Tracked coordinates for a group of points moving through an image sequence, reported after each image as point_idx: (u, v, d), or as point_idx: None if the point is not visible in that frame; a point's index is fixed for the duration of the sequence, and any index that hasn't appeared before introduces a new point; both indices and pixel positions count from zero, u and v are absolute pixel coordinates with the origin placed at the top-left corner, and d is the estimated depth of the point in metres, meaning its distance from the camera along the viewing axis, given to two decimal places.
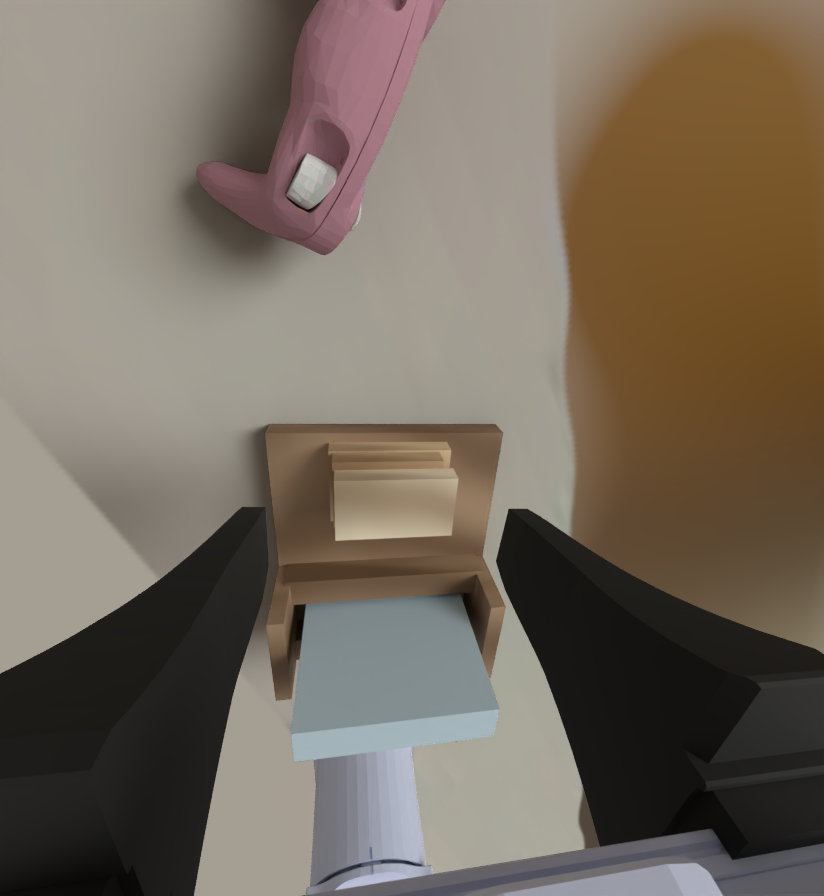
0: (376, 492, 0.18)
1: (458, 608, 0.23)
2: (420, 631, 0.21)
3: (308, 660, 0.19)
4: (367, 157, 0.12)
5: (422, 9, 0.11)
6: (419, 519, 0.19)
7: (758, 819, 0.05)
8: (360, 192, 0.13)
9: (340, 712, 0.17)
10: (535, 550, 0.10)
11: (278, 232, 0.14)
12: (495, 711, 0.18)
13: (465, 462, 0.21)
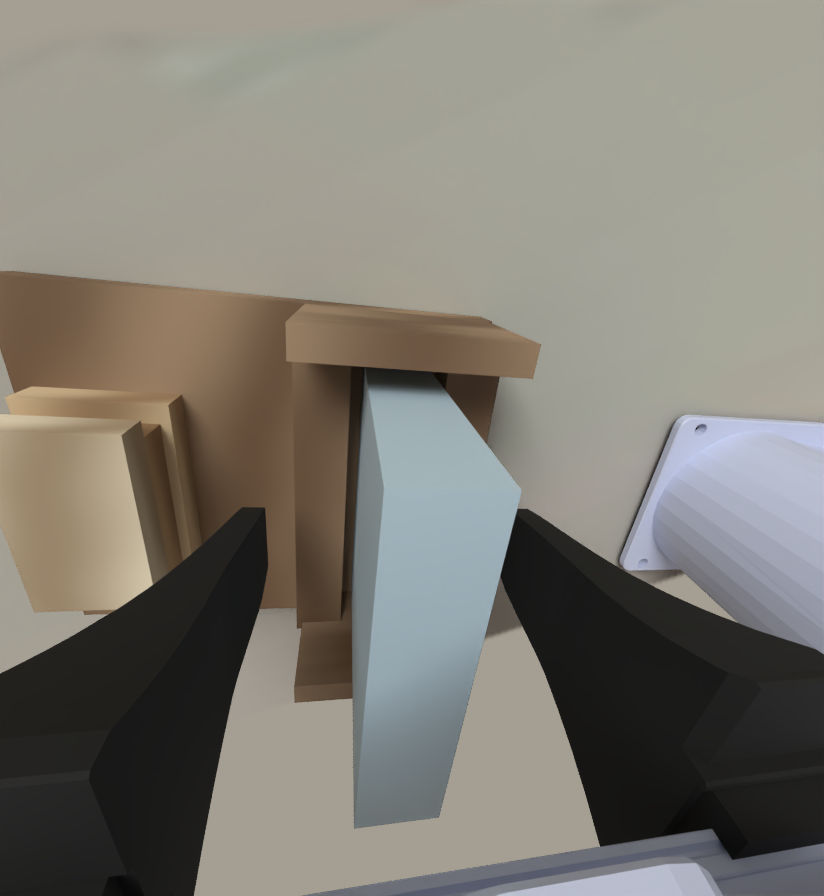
0: (41, 559, 0.11)
1: (364, 392, 0.11)
2: (362, 494, 0.11)
3: (352, 679, 0.12)
4: None
5: None
6: (89, 494, 0.10)
7: (758, 819, 0.05)
8: None
9: (357, 745, 0.09)
10: (535, 550, 0.10)
11: None
12: (392, 499, 0.05)
13: (69, 348, 0.11)
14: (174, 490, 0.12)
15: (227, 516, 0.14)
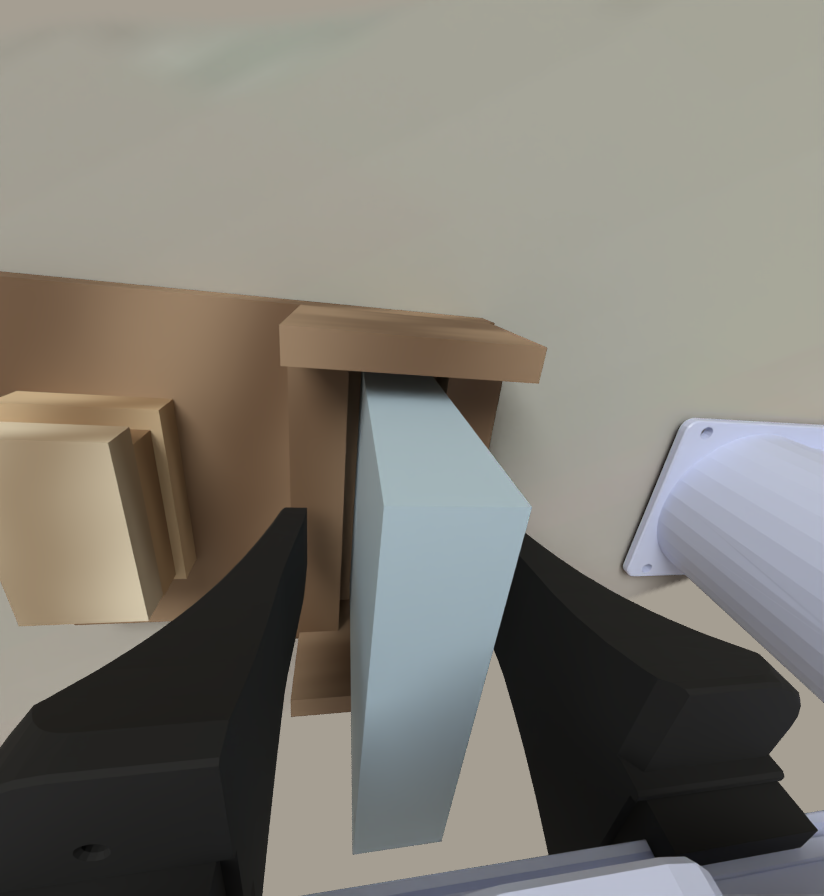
0: (25, 572, 0.10)
1: (363, 397, 0.10)
2: (360, 503, 0.10)
3: (351, 694, 0.11)
4: None
5: None
6: (75, 504, 0.10)
7: (690, 830, 0.05)
8: None
9: (356, 768, 0.08)
10: None
11: None
12: (393, 517, 0.05)
13: (55, 352, 0.11)
14: (166, 498, 0.12)
15: (222, 524, 0.14)
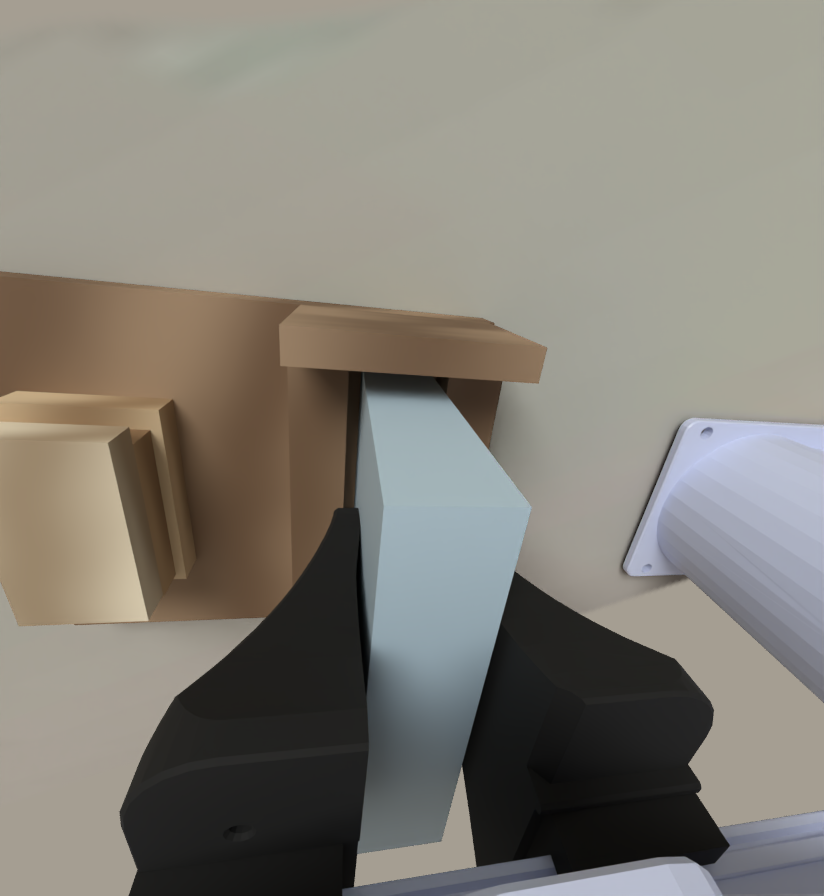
0: (25, 572, 0.10)
1: (363, 397, 0.10)
2: (360, 503, 0.10)
3: None
4: None
5: None
6: (74, 504, 0.10)
7: (593, 846, 0.05)
8: None
9: None
10: None
11: None
12: (393, 517, 0.05)
13: (55, 352, 0.11)
14: (165, 498, 0.12)
15: (221, 524, 0.14)
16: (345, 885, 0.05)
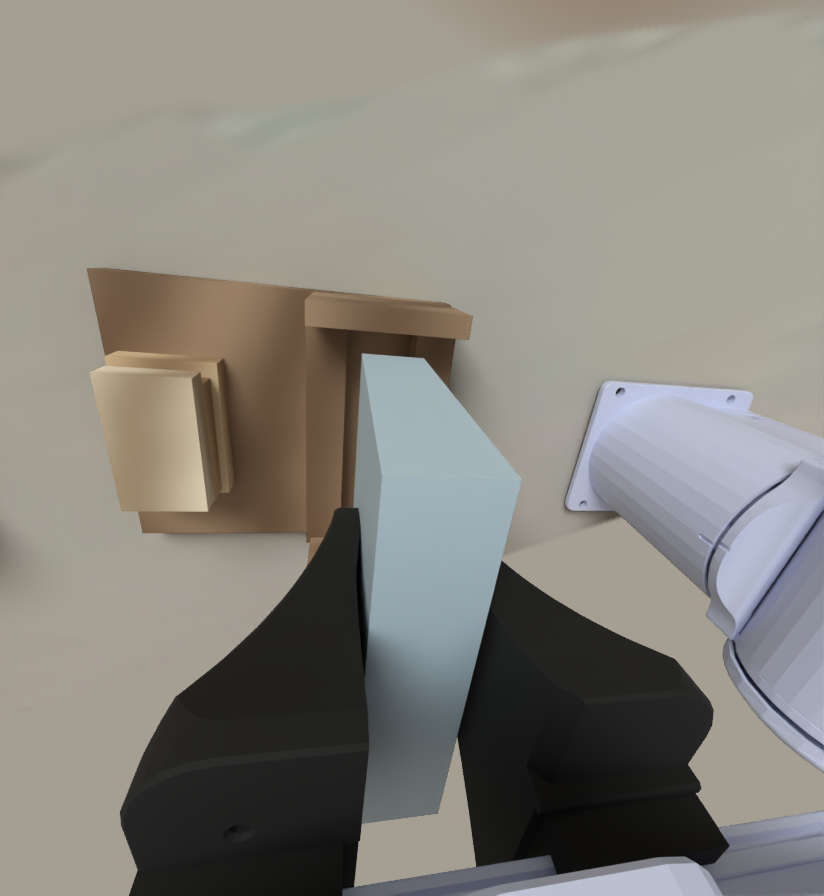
0: (130, 470, 0.15)
1: (363, 385, 0.11)
2: (360, 488, 0.10)
3: None
4: None
5: None
6: (166, 421, 0.15)
7: (593, 846, 0.05)
8: None
9: None
10: None
11: None
12: (391, 488, 0.05)
13: (146, 323, 0.16)
14: (218, 428, 0.17)
15: (254, 454, 0.19)
16: (345, 885, 0.05)
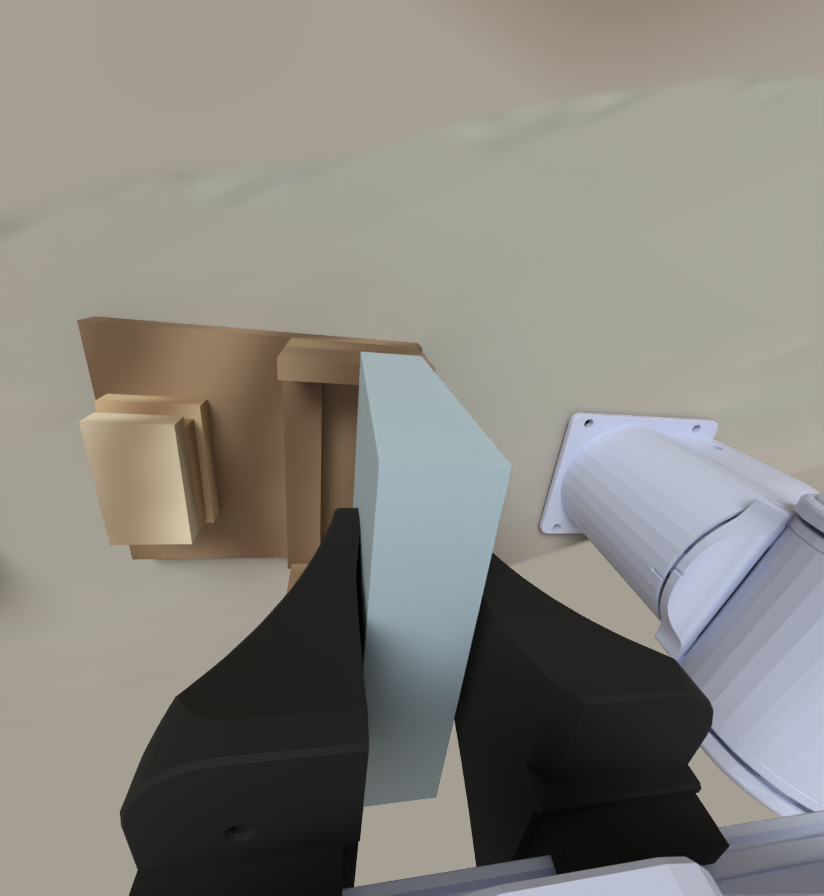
0: (118, 507, 0.16)
1: (361, 382, 0.11)
2: (359, 482, 0.11)
3: None
4: None
5: None
6: (151, 463, 0.16)
7: (593, 846, 0.05)
8: None
9: None
10: None
11: None
12: (387, 473, 0.06)
13: (133, 368, 0.17)
14: (202, 465, 0.18)
15: (237, 486, 0.20)
16: (345, 885, 0.05)
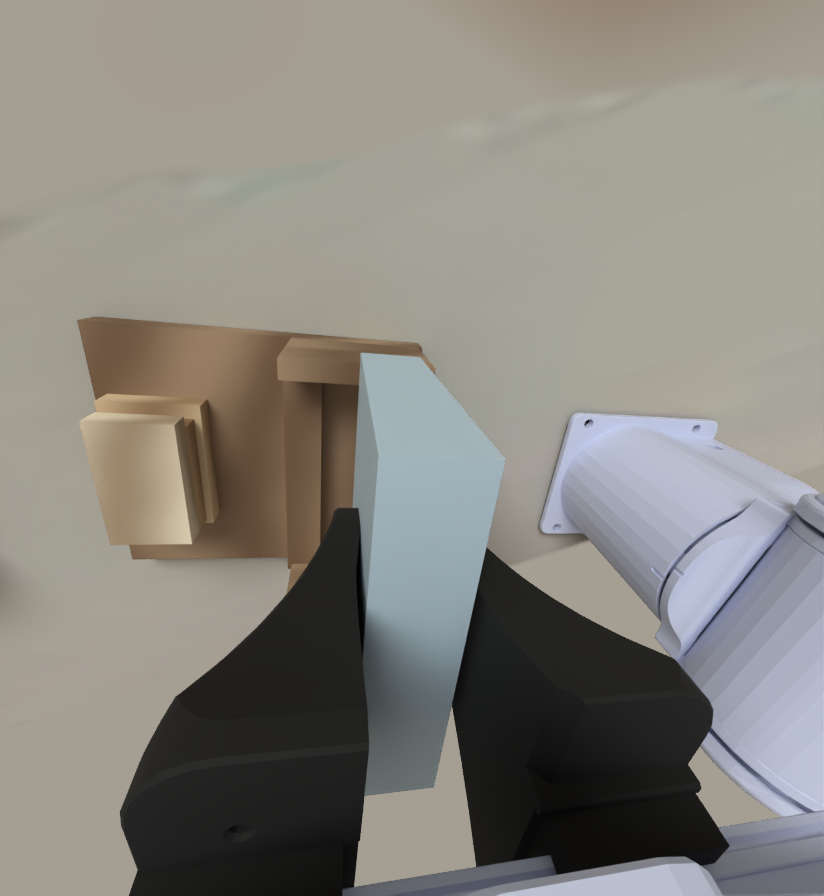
0: (118, 507, 0.16)
1: (361, 382, 0.11)
2: (359, 479, 0.11)
3: None
4: None
5: None
6: (151, 463, 0.16)
7: (593, 846, 0.05)
8: None
9: None
10: None
11: None
12: (386, 466, 0.06)
13: (133, 368, 0.17)
14: (202, 465, 0.18)
15: (237, 486, 0.20)
16: (345, 885, 0.05)
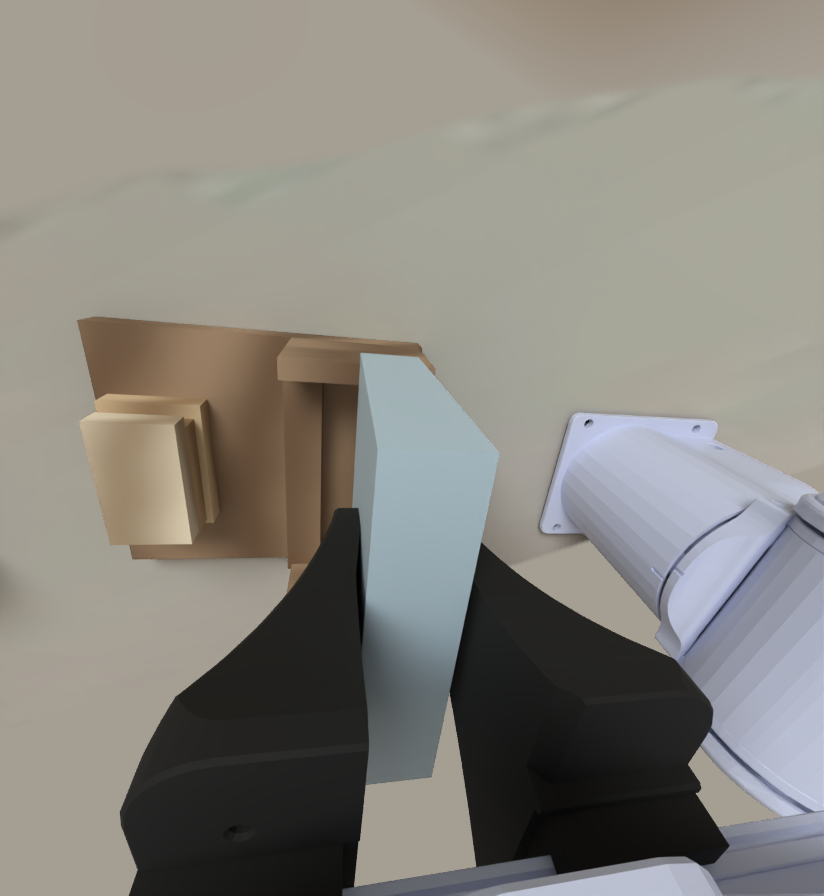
0: (118, 507, 0.16)
1: (361, 381, 0.11)
2: (359, 476, 0.11)
3: None
4: None
5: None
6: (151, 463, 0.16)
7: (593, 846, 0.05)
8: None
9: None
10: None
11: None
12: (385, 459, 0.06)
13: (133, 368, 0.17)
14: (202, 465, 0.18)
15: (237, 486, 0.20)
16: (345, 885, 0.05)
